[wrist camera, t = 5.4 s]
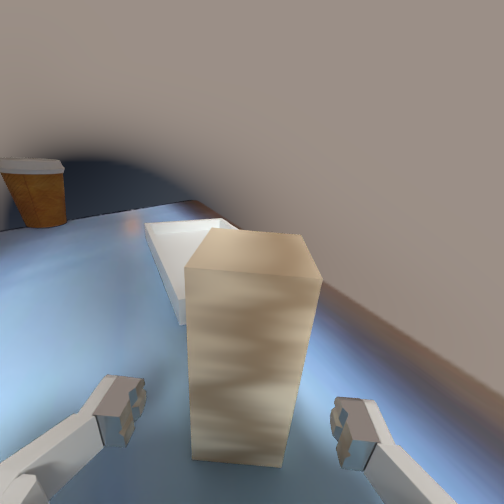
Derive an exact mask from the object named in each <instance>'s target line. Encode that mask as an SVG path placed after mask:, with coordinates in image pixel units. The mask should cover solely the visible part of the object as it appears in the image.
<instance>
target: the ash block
mask: <svg viewBox="0 0 504 504" xmlns="http://www.w3.org/2000/svg"><path fill="white" fill-rule="evenodd" d="M184 278H185V302H186V327H187V351H188V376H189V400H190V425H191V449H192V460H201V461H211V462H222V463H233V464H244V465H255V466H266V467H277V468H281V467H282V463H283V458H284V453H285V449H286V444H287V440H288V435H289V430H290V426H291V421H292V417H293V412H294V408H295V403H296V398H297V394H298V389H299V385H300V380H301V375H302V371H303V366H304V362H305V357H306V353H307V348H308V343H309V339H310V334H311V330H312V325H313V320H314V316H315V311H316V307H317V302H318V298H319V293H320V288H321V284H322V277H321V275H320V273H319V271H318V269H317V267H316V265H315V262H314V260H313V258H312V257H311V254H310V252H309V250H308V248H307V246H306V244H305V242H304V240H303V238H302V236H301V235H295V234H283V233H271V232H258V231H247V230H235V229H223V228H211V229H210V231H209V232H208V233H207V235H206V236H205V238H204V239H203V241H202V242H201V244H200V245H199V246H198V248H197V249H196V251H195V252H194V254H193V255H192V256H191V258H190V259H189V261H188V262H187V264H186V265H185V266H184Z"/></svg>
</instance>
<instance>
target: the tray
mask: <svg viewBox="0 0 504 504" xmlns="http://www.w3.org/2000/svg"><path fill="white" fill-rule="evenodd" d="M144 225H145V235H146V240H147V243H148V246H149V248H150V251H151V253H152V256H153V258H154V261H155V263H156V266H157V269H158V271H159V274H160V276H161V279H162V281H163V284H164V286H165V289H166V292H167V294H168V297H169V299H170V302H171V304H172V307H173V310H174V312H175V315H176V317H177V320H178V322H179V325H180V326H181V325H185V324H186V302H185V278H184V266H185V265H186V264H187V262H188V261H189V259H190V258H191V256H192V255H193V254H194V252H195V251H196V249H197V248H198V246H199V245H200V244H201V242H202V241H203V239H204V238H205V236H206V235H207V233H208V232H209V231H210V229H211V228H223V229H235V230H238V229H237V228H235V227H234V226H232V225H231V224H229V223H228V222H226V221H225V220H223V219H222V218H220V219H204V220H188V221H172V222H156V223H144Z"/></svg>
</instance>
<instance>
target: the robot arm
mask: <svg viewBox="0 0 504 504" xmlns="http://www.w3.org/2000/svg"><path fill="white" fill-rule="evenodd" d="M144 385H145V381H144V379H142V378H134V377H125V376H117V375H106V376H105V377H104V378H103V379H102V380H101V382H100V383H99V384H98V386H97V387H96V388H95V390H94V391H93V393H92V394H91V395H90V397H89V398H88V400H87V401H86V402H85V404H84V405H83V407H82V408H81V409H80V411H79V412H78V413H77V414H72V415H71V416H69V417H68V418H66V419H65V420H63V421H62V422H60V423H59V424H57V425H56V426H54V427H53V428H51V429H50V430H49V431H47V432H46V433H44V434H43V435H41V436H40V437H38V438H37V439H35V440H34V441H32V442H31V443H29V444H28V445H26V446H25V447H24V448H22V449H21V450H19V451H18V452H16V453H15V454H13V455H12V456H10V457H9V458H7V459H6V460H4V461H3V462H1V463H0V504H50V502H49V500H50V499H51V498H52V497H53V496H54V495H55V494H56V493H57V492H58V491H59V490H60V489H62V488H63V487H64V486H65V485H66V484H67V483H68V482H69V481H70V480H71V479H72V478H73V477H74V476H75V475H76V474H77V473H78V472H79V471H80V470H81V469H82V468H83V467H84V466H85V465H86V464H87V463H88V462H89V461H90V460H91V459H93V458H94V457H95V456H96V455H97V454H98V453H99V452H100V451H101V450H102V449H103V448H104V446H110V447H126V446H127V444H128V442H129V440H130V438H131V436H132V434H133V432H134V429H135V427H134V422H135V421H136V420H137V419H138V418H140V417H141V414H142V412H143V410H144V407H145V403H146V397H147V395H146V391H145V390H144V389H143V387H144ZM334 404H335V408H333V409H332V411H331V414H330V424H331V430H332V435H333V437H334V438H335V439H336V440H337V441H338V444H337V447H336V451H337V455H338V458H339V462H340V466H341V469H347V470H355V471H362V472H364V475H365V476H366V478H367V479H368V481H369V482H370V483H371V485H372V486H373V488H374V489H375V491H376V492H377V493H378V495H379V496H380V498H381V499H382V501H383V502H384V503H385V504H457V503H456V502H455V501H454V500H453V499H452V498H451V497H450V496H449V495H448V494H447V493H446V492H445V491H444V490H443V489H442V488H441V487H440V486H439V485H438V484H437V483H436V482H435V481H434V480H433V479H432V478H431V477H430V476H429V475H428V474H427V473H426V472H425V471H424V469H423V468H422V467H421V466H420V465H419V464H418V463H417V462H416V461H415V460H414V459H413V458H412V457H411V456H410V455H409V454H408V453H407V452H406V451H405V450H404V449H403V448H402V447H401V446H400V445H395V442H394V440H393V438H392V436H391V434H390V432H389V429H388V427H387V425H386V423H385V421H384V419H383V417H382V414H381V412H380V410H379V408H378V406H377V404H376V402H375V401H374V400H367V399H360V398H347V397H336V398H335V401H334Z"/></svg>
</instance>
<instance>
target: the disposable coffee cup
mask: <svg viewBox="0 0 504 504" xmlns="http://www.w3.org/2000/svg"><path fill="white" fill-rule="evenodd" d="M63 169H65V168H64V167H63V166H62V164H61V163H60V161H59V160H52V159H39V158H0V173H1V175H2V177H3V179H4V181H5V183H6V185H7V187H8V189H9V191H10V193H11V195H12V197H13V200H14V202H15V204H16V206H17V208H18V210H19V212H20V214H21V216H22V218H23V220H24V222H25V224H26V226H27V227H32V228H46V227H54V226H59V225H62V224H65V223H66V222H67V221H66V209H65V196H64V183H63V172H64V170H63Z"/></svg>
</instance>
